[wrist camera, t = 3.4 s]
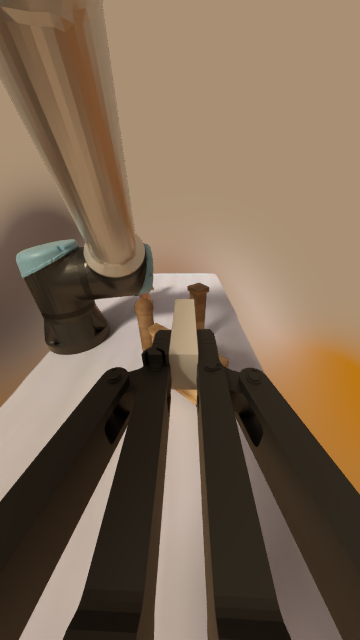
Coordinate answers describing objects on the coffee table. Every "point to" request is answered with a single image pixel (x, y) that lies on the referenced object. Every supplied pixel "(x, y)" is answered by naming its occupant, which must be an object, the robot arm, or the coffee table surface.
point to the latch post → (199, 302)
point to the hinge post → (144, 321)
